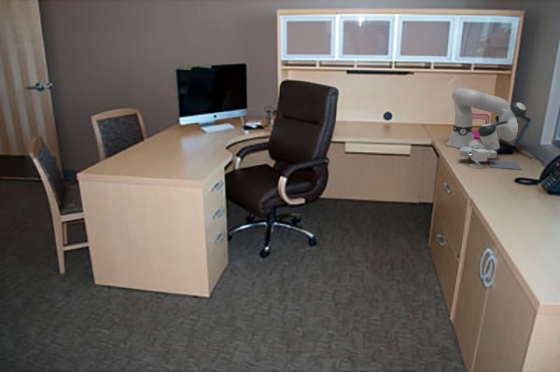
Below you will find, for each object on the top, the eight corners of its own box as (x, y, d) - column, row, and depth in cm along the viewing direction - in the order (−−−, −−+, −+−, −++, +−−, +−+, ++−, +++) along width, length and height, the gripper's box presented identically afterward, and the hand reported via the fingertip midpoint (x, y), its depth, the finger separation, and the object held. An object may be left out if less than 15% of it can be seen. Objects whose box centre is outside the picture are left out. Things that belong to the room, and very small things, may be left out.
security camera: (486, 167, 259) (488, 151, 256) (474, 168, 259) (477, 151, 255) (480, 165, 265) (482, 148, 262) (468, 165, 265) (471, 149, 261)
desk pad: (487, 160, 274) (487, 159, 274) (516, 162, 270) (516, 161, 269) (490, 167, 260) (490, 166, 259) (521, 169, 255) (521, 169, 255)
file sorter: (459, 138, 335) (462, 117, 330) (464, 131, 356) (466, 111, 351) (485, 140, 327) (488, 118, 322) (488, 133, 348) (491, 113, 343)
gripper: (494, 157, 271) (497, 162, 259) (458, 154, 277) (459, 160, 264) (496, 146, 269) (499, 152, 257) (459, 144, 275) (461, 150, 262)
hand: (479, 156), depth 261 cm, fingers open, 8 cm apart
